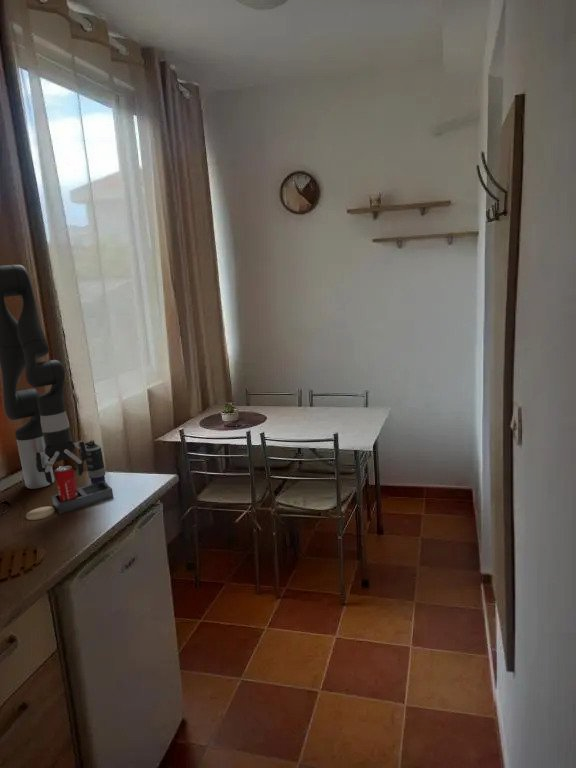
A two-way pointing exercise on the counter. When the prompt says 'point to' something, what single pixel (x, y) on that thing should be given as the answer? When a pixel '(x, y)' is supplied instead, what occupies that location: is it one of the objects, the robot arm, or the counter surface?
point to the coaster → (40, 513)
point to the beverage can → (66, 483)
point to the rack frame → (84, 497)
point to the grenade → (95, 462)
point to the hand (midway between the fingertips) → (65, 479)
